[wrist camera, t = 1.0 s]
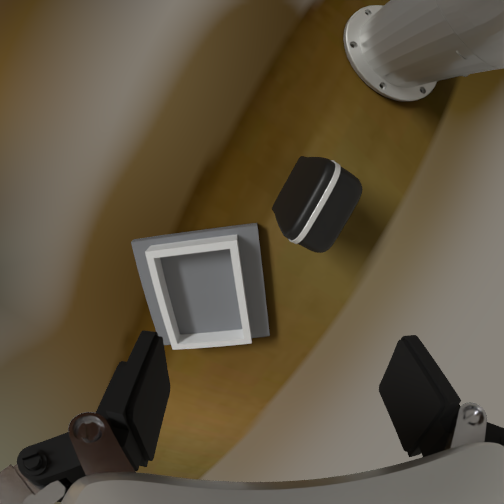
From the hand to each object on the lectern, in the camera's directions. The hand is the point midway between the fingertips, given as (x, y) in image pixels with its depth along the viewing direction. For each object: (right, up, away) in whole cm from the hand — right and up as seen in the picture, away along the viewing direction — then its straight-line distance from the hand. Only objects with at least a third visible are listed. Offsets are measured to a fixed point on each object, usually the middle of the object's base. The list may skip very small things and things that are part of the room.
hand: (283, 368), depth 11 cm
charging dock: (-7, 0, +23) cm, 24 cm away
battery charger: (+4, +11, +20) cm, 23 cm away
